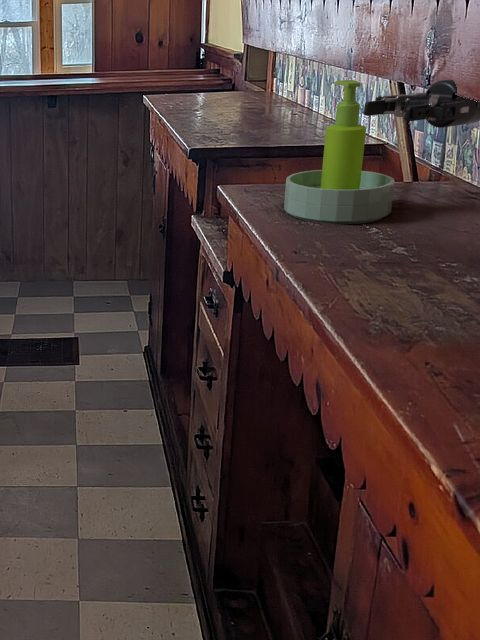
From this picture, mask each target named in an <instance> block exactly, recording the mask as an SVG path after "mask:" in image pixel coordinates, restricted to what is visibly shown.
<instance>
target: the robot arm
mask: <svg viewBox="0 0 480 640" xmlns="http://www.w3.org/2000/svg"><path fill="white" fill-rule="evenodd" d="M451 79H452V78H449V79H444V80H443V79H442V80H438V81H436V82H434V83H433V84H432V85H430V86H429V87H428V89H427V90H426V91H425V92H416V93H413V94H411V93H410V94H405V93H401V94H394V95H393V94H392V95H384V96H381V95H380V96H379V95H378V96H376V97H375V100H369V101H365V103H364V108H363V115H364V116H366V117H372V116H379V115H382V116H385V115H394V116H395V117H397V118H404V120H405V122H415V121H423V120H426V122H427V123H428V124H429V125H430V126H433V127H434V128H438V129H440V128H441V129H443V128H450V127H457V126H463V125H470V124H474V123H477V122H480V102H478V101H477V102H476V101H474V100H470V99H466V98H463V97H460V96H457V95H455V93H457V87H456V84H455V82H454V81H453V80H451ZM402 111H405V112H402Z"/></svg>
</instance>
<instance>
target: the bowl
mask: <svg viewBox="0 0 480 640" xmlns="http://www.w3.org/2000/svg"><path fill="white" fill-rule="evenodd" d="M321 178H322V169H313V170H305V171H300V172H299V171H298V172H297V173H292V174H290V175H288V176H286V179H285V188H284V189H285V190H284V201H283V210H284V211H285V213H287V214H289V215H290V216H291V217H293V218H295V219H298V220H301V221H304V222H315V223H321V224H332V225H333V224H334V225H358V224H359V225H360V224H366V223H372V222H373V223H374V222H377V221H380V220H382V219H383V218H384V217H387V216H388V215H389V214H391V213H392V206H393V198H394V191H395V182H396V181H395V178H393V177H392V176H390V175H388V174H384V173H379V172H375V171H370V170H369V171H368V170H362V172H361V181H360V189H322V188H321Z"/></svg>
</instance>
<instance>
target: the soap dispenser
mask: <svg viewBox="0 0 480 640" xmlns="http://www.w3.org/2000/svg"><path fill="white" fill-rule="evenodd" d="M333 84H334V86H343V96H342V101H340V102H339V103H337V104H336V108H335V120H334V124H332V125H328V126H326V127H325V134H324V135H325V136H324V146H323V147H324V148H323V155H322V156H323V157H322V158H323V159H322V166H321V167H322V169H321V170H322V178H321V188H322V189H360V181H361V172H362V171H363V161H364V153H365V143H366V134H367V126H365V125H361V124H359V121H360V120H359V119H360V111H361V104H360V103H359V102H357V101H356V92H357V88H361V82H359V81H358V80H355V79H341V80H336V81H334V82H333Z"/></svg>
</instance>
